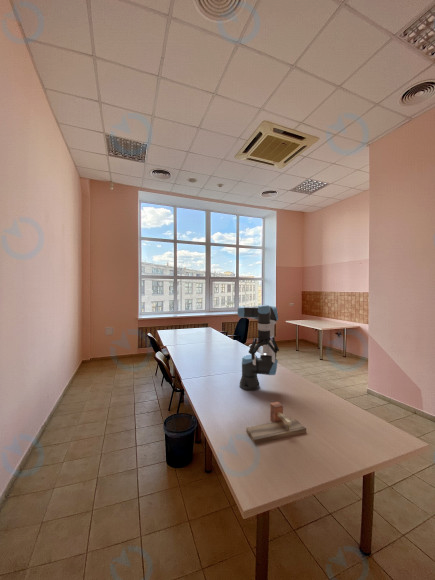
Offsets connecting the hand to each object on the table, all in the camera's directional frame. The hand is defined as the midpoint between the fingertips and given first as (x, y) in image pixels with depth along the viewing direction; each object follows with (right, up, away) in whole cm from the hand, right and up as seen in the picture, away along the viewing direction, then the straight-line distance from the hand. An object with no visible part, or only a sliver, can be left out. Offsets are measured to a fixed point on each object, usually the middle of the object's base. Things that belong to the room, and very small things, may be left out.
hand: (264, 363), depth 146 cm
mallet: (+6, -29, -18) cm, 35 cm away
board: (+2, -29, -23) cm, 37 cm away
